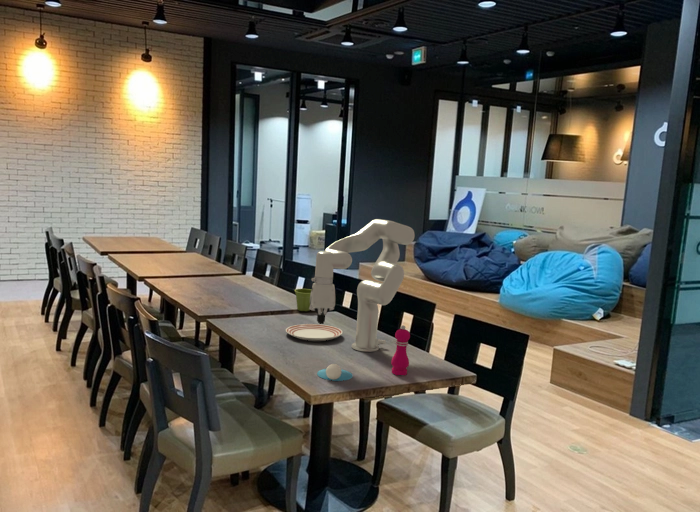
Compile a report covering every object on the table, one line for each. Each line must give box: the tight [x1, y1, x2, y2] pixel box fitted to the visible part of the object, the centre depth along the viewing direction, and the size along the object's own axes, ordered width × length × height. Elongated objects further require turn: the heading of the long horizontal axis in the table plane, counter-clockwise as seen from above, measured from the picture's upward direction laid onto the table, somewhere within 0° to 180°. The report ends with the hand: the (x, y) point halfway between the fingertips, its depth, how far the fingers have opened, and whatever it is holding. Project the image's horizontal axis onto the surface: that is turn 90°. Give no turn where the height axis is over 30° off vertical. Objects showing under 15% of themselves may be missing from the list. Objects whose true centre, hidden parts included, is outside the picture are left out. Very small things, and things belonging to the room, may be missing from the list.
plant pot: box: [294, 288, 312, 312], centre depth 344 cm, size 12×12×11 cm
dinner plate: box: [285, 323, 343, 342], centre depth 292 cm, size 28×27×3 cm
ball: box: [325, 363, 342, 380], centre depth 232 cm, size 6×6×6 cm
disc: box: [316, 368, 354, 382], centre depth 238 cm, size 14×14×1 cm
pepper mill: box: [390, 325, 411, 376], centre depth 244 cm, size 7×7×20 cm
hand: (320, 323), depth 256 cm, fingers closed
